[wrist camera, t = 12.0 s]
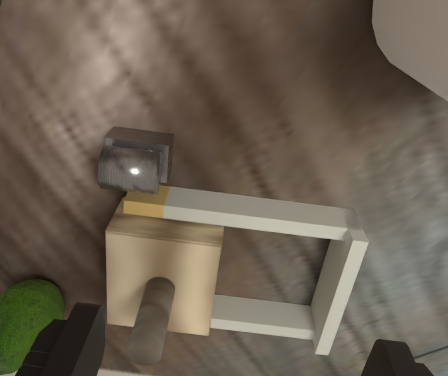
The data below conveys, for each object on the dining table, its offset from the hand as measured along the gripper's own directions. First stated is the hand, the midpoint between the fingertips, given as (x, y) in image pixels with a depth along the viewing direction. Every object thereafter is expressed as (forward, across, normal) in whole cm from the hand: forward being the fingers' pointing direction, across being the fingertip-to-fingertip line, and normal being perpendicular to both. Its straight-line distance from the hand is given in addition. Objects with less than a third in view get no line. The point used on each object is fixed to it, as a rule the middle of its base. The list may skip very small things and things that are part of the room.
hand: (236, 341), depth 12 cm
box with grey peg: (+30, +5, +20) cm, 37 cm away
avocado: (+30, +21, +29) cm, 47 cm away
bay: (+30, -2, +20) cm, 36 cm away
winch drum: (+30, +9, +8) cm, 32 cm away
